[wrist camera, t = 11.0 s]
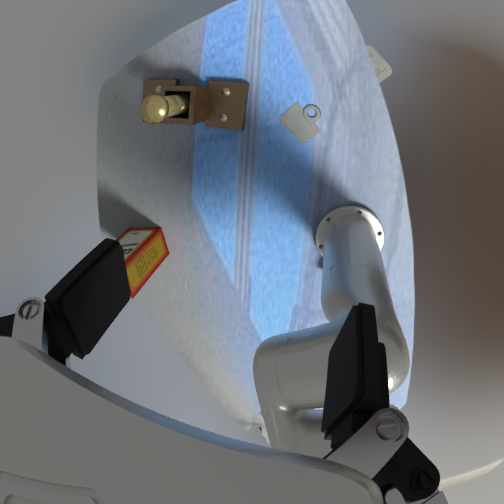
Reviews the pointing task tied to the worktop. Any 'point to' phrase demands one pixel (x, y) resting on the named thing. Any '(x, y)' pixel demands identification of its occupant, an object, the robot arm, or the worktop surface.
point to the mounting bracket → (304, 124)
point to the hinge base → (206, 102)
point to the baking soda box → (142, 254)
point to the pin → (163, 107)
